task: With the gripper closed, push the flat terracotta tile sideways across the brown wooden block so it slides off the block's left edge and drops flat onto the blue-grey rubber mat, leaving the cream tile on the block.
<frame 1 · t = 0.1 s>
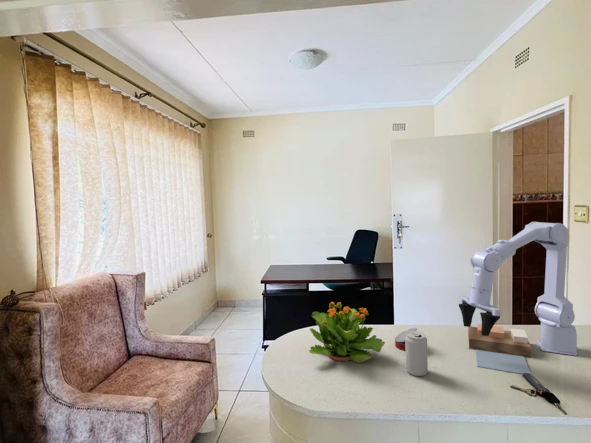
hand: (475, 330, 106), 11 cm above the counter, tool pointing down, fingers open, 7 cm apart
usb stick: (535, 386, 93), on the counter
mat: (501, 362, 106), on the counter
terracotta tile: (490, 333, 119), point 3 cm above the counter, touching brown wooden block
canned food: (407, 347, 120), on the counter
cream tile: (519, 338, 114), point 3 cm above the counter, touching brown wooden block
brown wooden block: (497, 345, 118), on the counter
beverage can: (416, 372, 102), on the counter
potted flower: (338, 355, 116), on the counter
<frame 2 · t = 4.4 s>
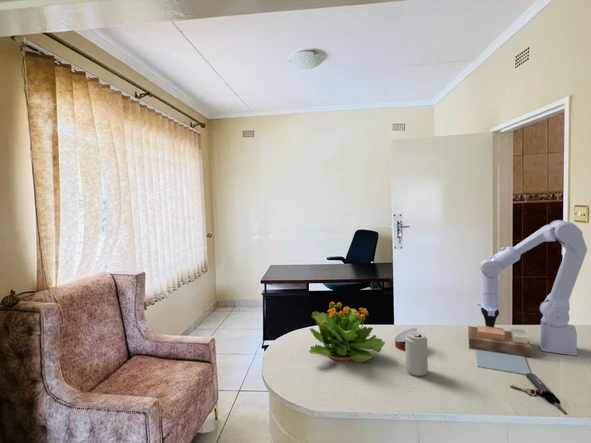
hand: (489, 328, 121), 4 cm above the counter, tool pointing down, fingers closed
terracotta tile: (490, 335, 118), point 3 cm above the counter, touching brown wooden block, gripper
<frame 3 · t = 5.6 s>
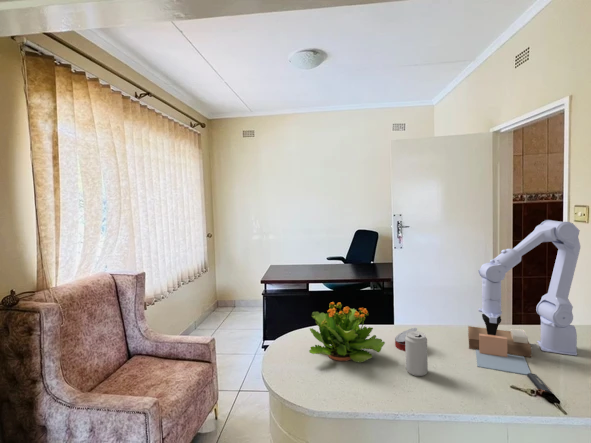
hand: (491, 336, 115), 4 cm above the counter, tool pointing down, fingers closed
terracotta tile: (492, 343, 112), point 3 cm above the counter, tilted 87°, touching mat
everything else where it was.
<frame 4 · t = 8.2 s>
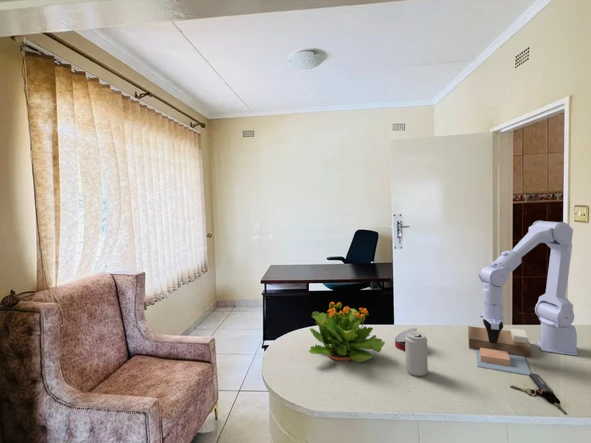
hand: (492, 342, 110), 4 cm above the counter, tool pointing down, fingers closed
terracotta tile: (494, 353, 107), point 2 cm above the counter, tilted 180°, touching mat
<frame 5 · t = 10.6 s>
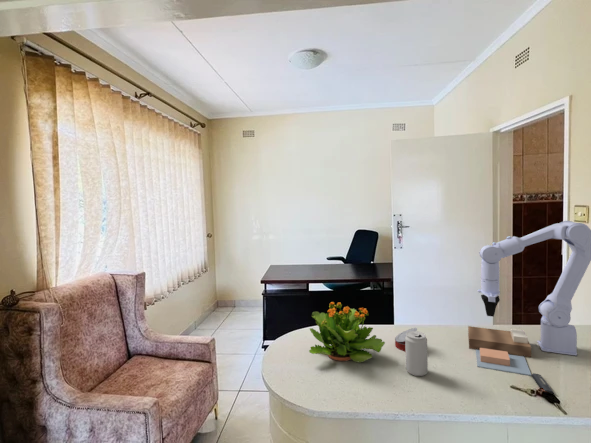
hand: (490, 315, 120), 10 cm above the counter, tool pointing down, fingers closed
at the end: terracotta tile inside the target area (2.1 cm from its centre), point 2.3 cm above the counter; terracotta tile point 2.3 cm above the counter; cream tile touching brown wooden block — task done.
